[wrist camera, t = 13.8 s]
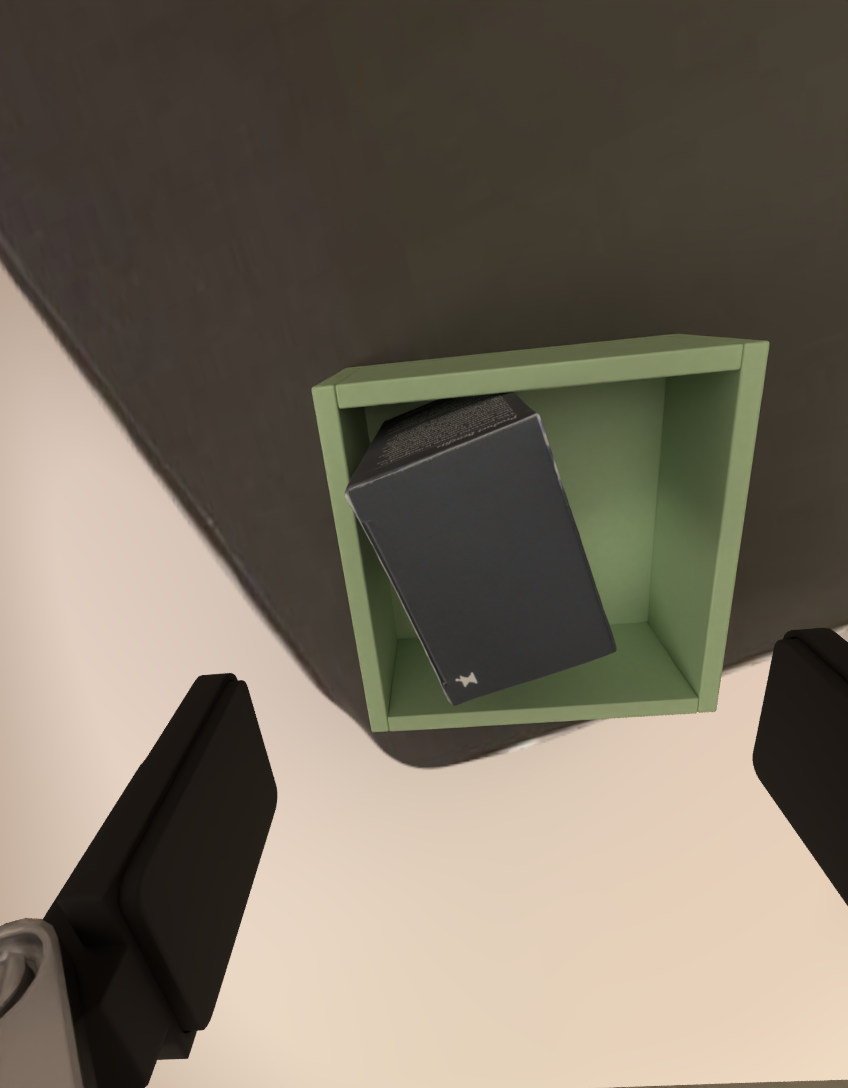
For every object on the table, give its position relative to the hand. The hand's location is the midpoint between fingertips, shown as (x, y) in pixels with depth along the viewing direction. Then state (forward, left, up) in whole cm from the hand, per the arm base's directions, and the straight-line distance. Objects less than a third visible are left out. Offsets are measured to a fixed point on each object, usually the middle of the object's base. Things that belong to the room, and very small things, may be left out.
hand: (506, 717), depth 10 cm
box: (0, 0, -17) cm, 17 cm away
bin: (+2, -2, -17) cm, 18 cm away
